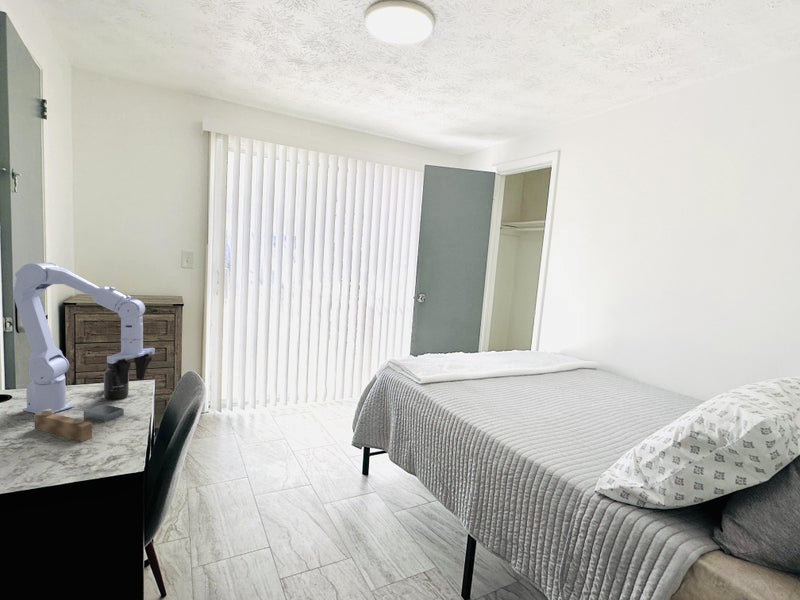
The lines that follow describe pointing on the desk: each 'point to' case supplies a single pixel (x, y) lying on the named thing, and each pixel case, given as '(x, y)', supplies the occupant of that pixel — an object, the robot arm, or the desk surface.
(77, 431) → the block
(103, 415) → the steel plate
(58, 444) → the desk surface
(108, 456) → the desk surface
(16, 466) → the desk surface
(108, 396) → the supplement bottle
